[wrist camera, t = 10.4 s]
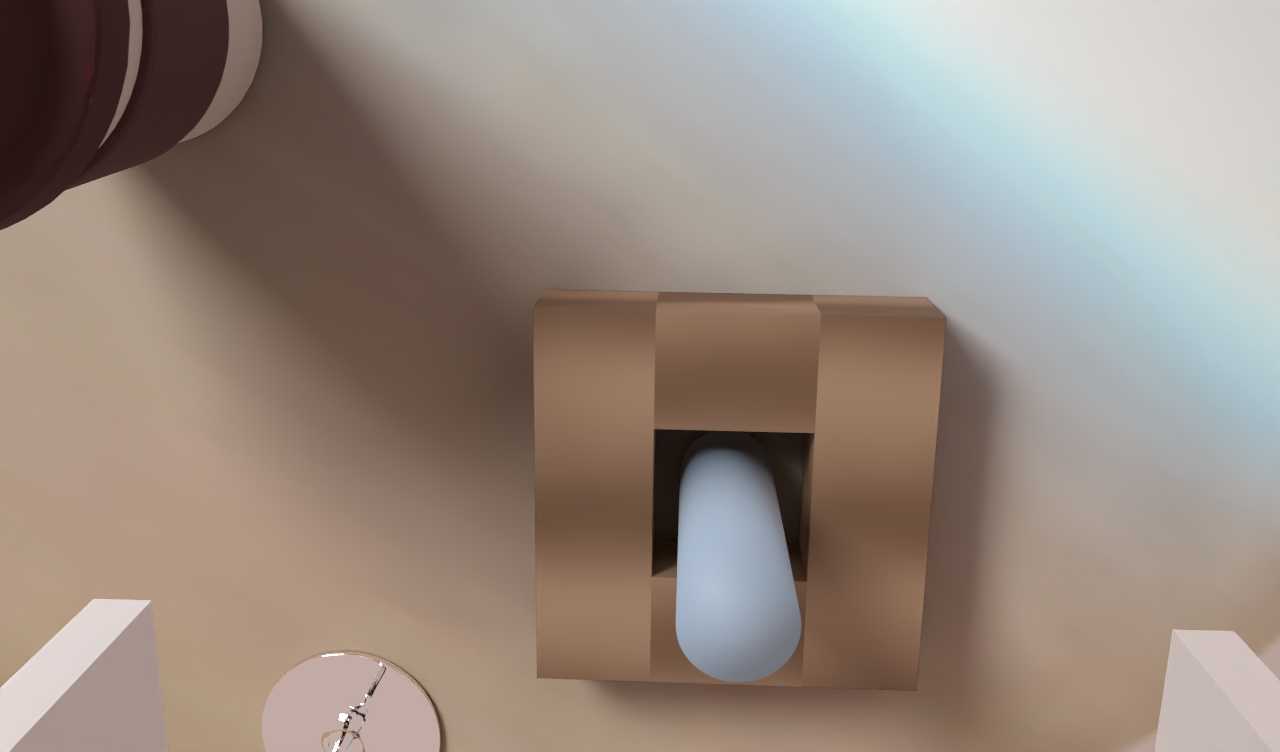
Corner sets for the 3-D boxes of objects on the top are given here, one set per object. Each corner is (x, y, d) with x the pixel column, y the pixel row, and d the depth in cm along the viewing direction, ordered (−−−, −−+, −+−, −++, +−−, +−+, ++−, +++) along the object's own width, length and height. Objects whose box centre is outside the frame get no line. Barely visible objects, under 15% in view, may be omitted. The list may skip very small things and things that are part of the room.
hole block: (545, 289, 38) (533, 308, 35) (926, 297, 37) (946, 317, 34) (548, 634, 41) (537, 677, 38) (900, 645, 40) (916, 690, 37)
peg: (681, 427, 39) (677, 565, 28) (773, 430, 39) (804, 569, 28) (678, 514, 40) (673, 679, 29) (769, 517, 39) (798, 684, 29)
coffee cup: (372, 91, 36) (159, 110, 22) (110, 241, 38) (-250, 351, 24) (195, -220, 34) (-168, -425, 20) (-75, -47, 36) (-593, -122, 22)
